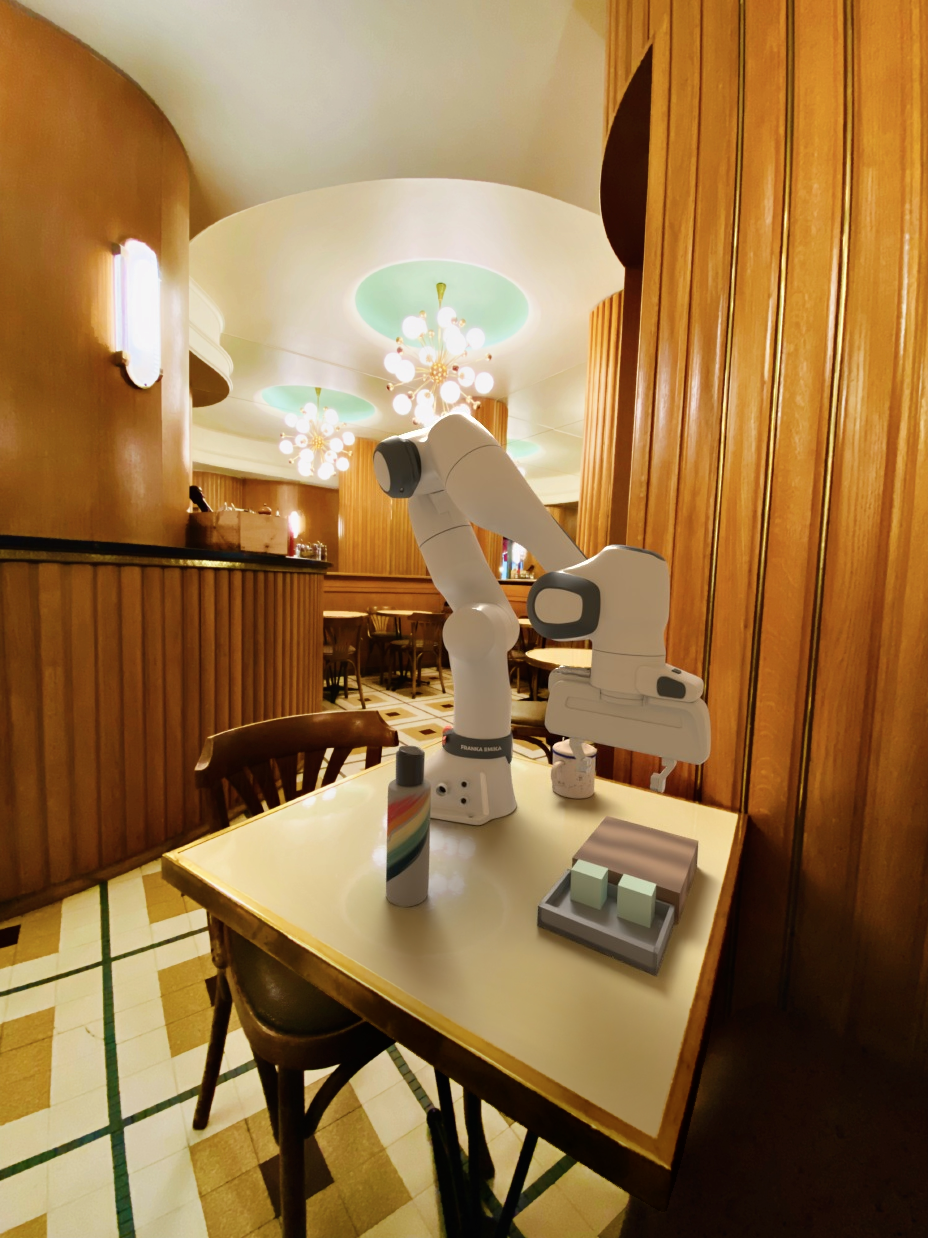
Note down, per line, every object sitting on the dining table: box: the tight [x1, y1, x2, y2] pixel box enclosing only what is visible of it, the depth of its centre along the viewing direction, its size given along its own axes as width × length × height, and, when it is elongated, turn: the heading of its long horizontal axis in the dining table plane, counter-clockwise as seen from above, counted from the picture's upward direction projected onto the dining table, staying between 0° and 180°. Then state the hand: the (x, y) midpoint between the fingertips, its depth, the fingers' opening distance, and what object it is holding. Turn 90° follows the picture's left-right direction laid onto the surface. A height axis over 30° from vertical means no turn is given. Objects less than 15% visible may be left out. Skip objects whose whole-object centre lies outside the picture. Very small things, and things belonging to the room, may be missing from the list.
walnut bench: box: [571, 815, 699, 925], centre depth 72 cm, size 16×14×4 cm
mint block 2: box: [617, 874, 656, 928], centre depth 61 cm, size 4×4×3 cm
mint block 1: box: [570, 859, 608, 910], centre depth 64 cm, size 4×4×3 cm
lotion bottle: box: [385, 745, 431, 908], centre depth 65 cm, size 6×6×20 cm
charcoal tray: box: [536, 868, 675, 977], centre depth 61 cm, size 10×14×2 cm
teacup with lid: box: [550, 738, 598, 800], centre depth 101 cm, size 12×9×12 cm
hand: (618, 780), depth 63 cm, fingers open, 8 cm apart
